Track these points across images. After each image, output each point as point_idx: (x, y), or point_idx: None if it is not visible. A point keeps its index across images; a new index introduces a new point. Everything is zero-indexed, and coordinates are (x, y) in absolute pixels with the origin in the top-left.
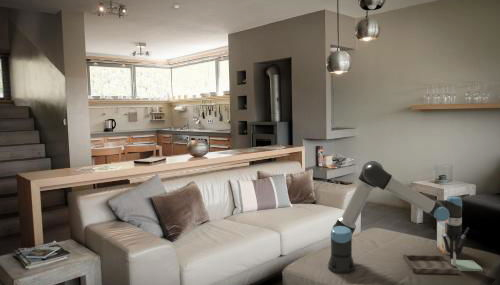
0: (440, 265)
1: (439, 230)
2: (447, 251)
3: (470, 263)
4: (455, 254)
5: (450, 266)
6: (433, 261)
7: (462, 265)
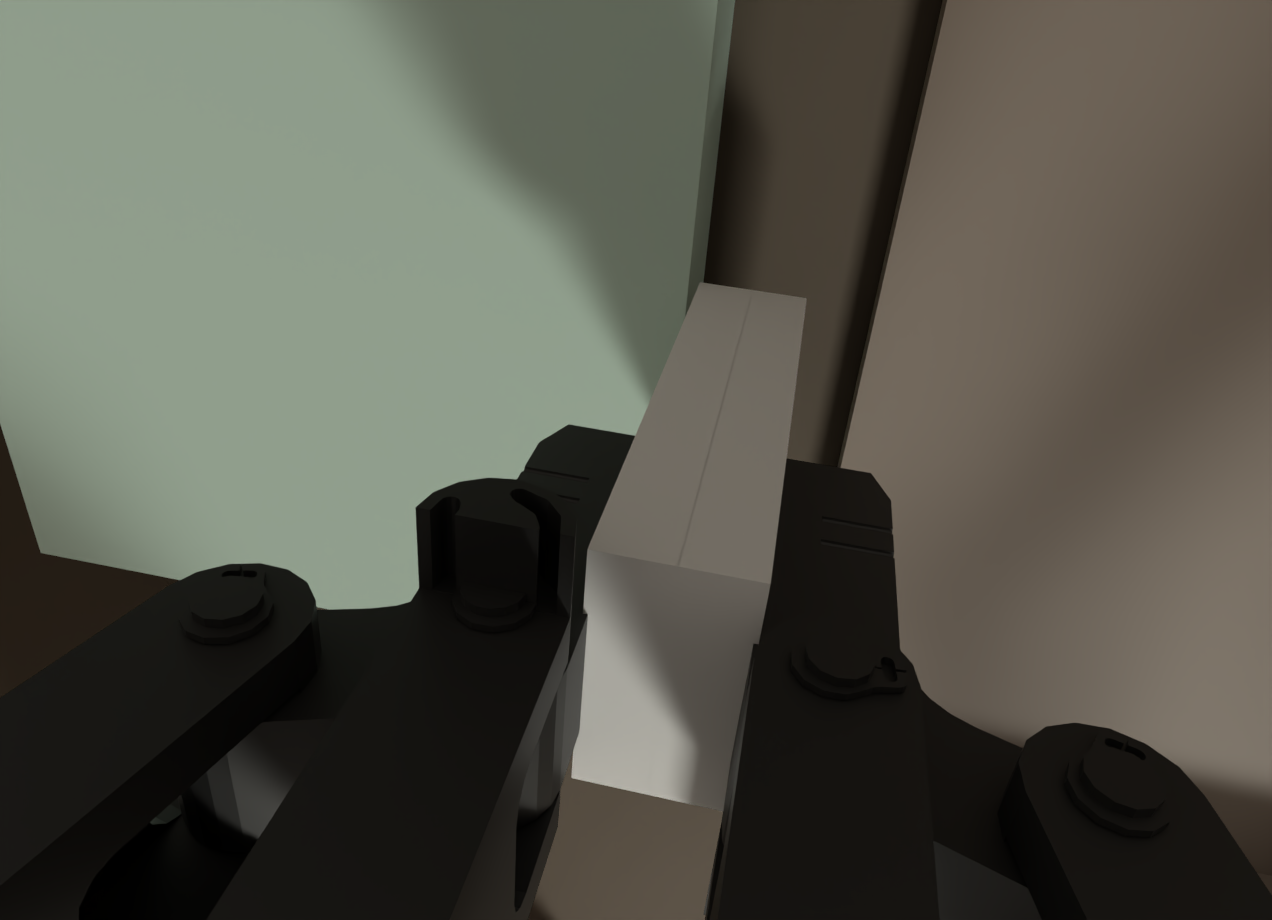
0: (1199, 455)
1: None
2: (1182, 846)
3: (145, 347)
4: (629, 542)
5: (873, 334)
6: (1183, 752)
7: (472, 198)
